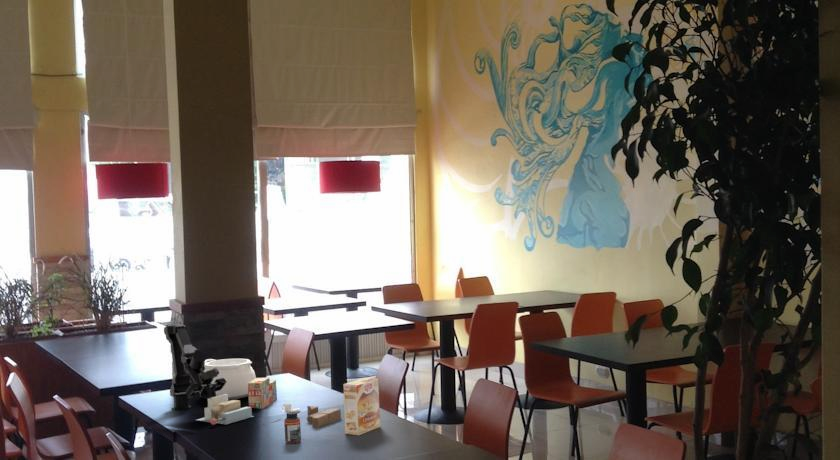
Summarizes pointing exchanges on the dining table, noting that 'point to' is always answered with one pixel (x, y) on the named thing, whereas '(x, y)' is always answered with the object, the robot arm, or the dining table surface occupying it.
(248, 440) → the dining table surface
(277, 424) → the dining table surface
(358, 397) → the coffeecake box
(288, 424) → the supplement bottle
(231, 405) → the beech block
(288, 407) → the teacup and saucer
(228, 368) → the pot
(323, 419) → the wooden block set
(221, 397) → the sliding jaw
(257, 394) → the stack of blocks
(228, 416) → the pale blue base plate
